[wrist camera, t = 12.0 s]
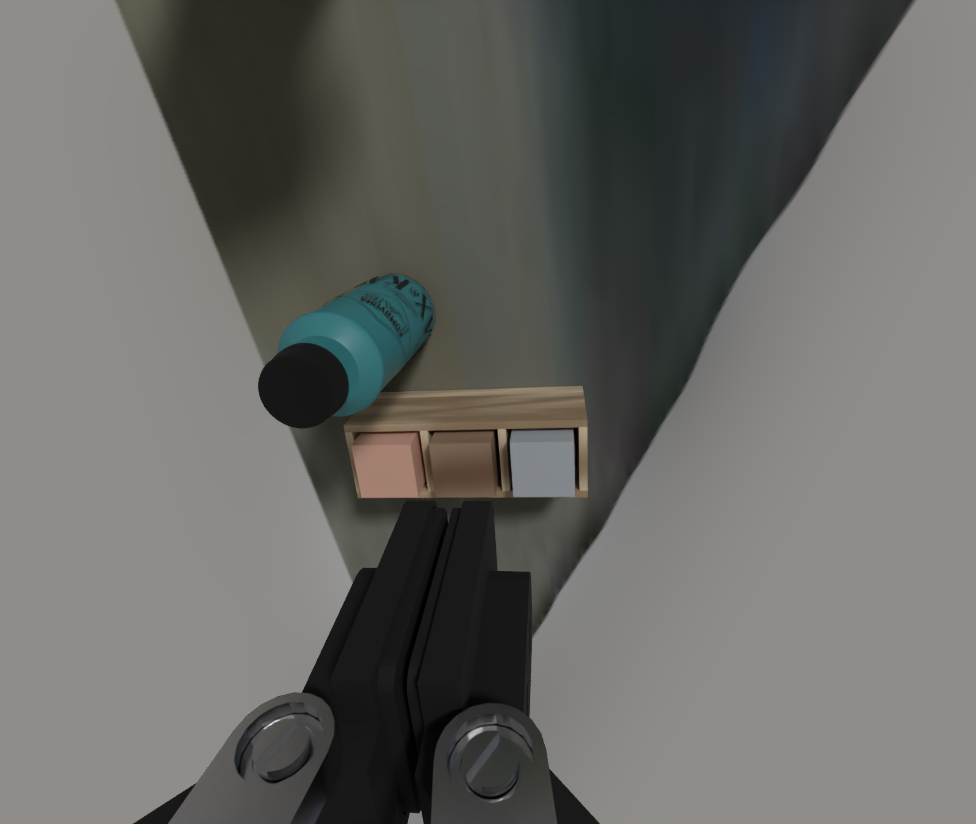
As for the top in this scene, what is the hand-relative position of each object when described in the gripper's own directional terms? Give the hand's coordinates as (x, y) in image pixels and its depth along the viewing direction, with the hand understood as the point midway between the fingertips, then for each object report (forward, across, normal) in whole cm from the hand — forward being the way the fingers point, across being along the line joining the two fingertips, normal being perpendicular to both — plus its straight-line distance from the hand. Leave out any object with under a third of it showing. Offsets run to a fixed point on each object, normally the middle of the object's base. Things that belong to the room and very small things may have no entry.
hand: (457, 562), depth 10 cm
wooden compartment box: (+34, +5, +14) cm, 37 cm away
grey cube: (+30, -1, +13) cm, 33 cm away
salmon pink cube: (+31, +11, +14) cm, 35 cm away
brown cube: (+30, +5, +14) cm, 34 cm away
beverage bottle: (+34, +10, +3) cm, 36 cm away
